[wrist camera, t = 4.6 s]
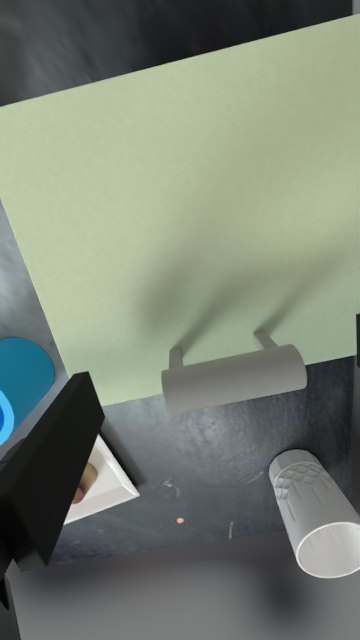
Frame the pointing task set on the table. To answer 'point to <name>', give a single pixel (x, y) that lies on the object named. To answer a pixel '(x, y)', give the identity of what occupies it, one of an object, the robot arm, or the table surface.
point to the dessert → (100, 484)
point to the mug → (21, 381)
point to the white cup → (316, 515)
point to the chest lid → (196, 218)
